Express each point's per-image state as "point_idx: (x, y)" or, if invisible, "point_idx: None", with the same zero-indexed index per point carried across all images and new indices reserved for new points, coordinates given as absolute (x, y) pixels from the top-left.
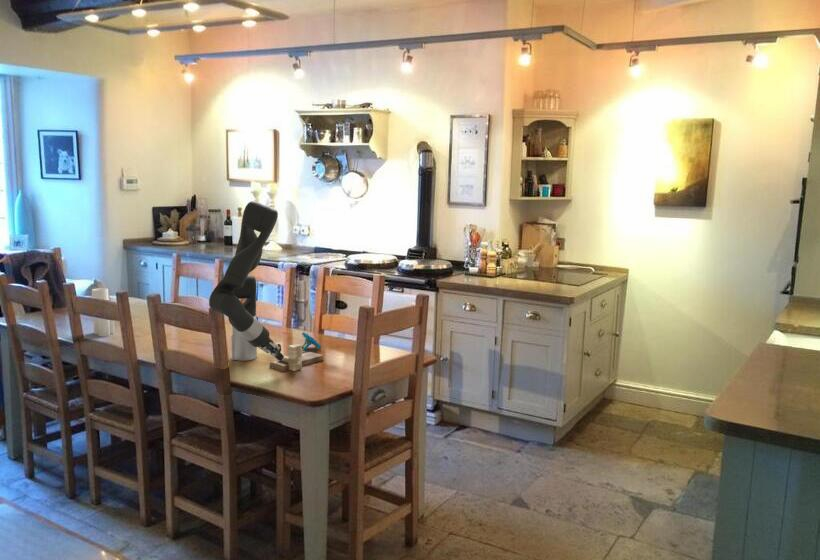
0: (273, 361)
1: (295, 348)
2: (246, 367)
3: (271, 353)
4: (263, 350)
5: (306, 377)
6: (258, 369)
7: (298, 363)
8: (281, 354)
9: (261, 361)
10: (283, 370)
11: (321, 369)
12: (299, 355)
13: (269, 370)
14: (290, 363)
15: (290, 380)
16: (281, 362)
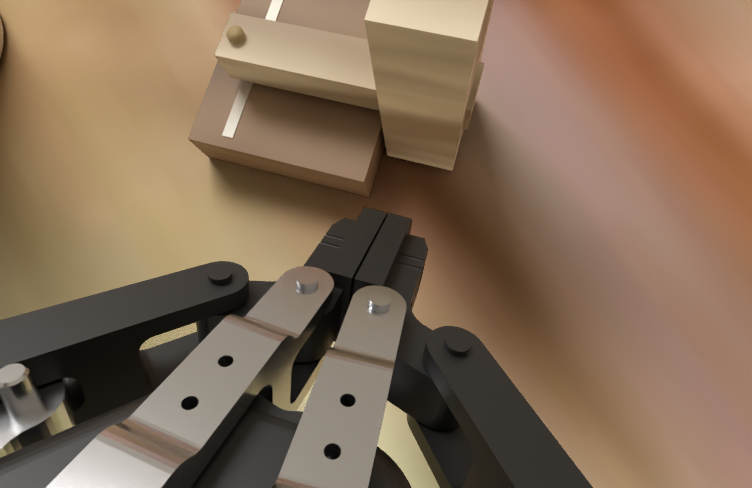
0: (208, 113)
1: (481, 27)
2: (45, 246)
3: (316, 374)
4: (160, 364)
5: (645, 257)
6: (157, 248)
7: (474, 101)
8: (419, 271)
9: (76, 70)
10: (364, 195)
11: (611, 25)
12: (483, 39)
13: (252, 231)
14: (409, 136)
15: (577, 394)
16: (287, 107)
